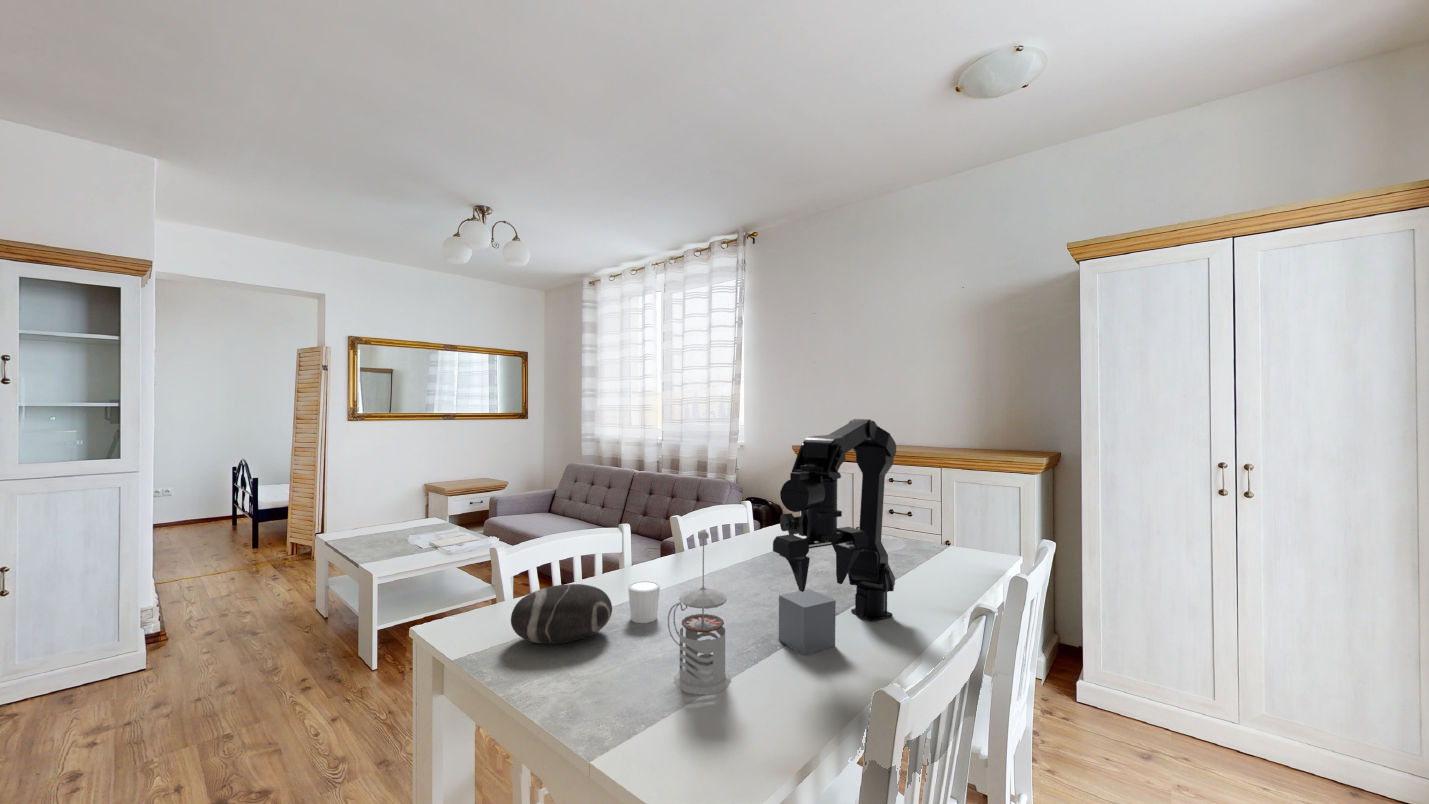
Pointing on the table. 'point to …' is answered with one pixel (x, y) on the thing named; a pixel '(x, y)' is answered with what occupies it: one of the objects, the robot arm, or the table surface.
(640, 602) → the white tapered cup
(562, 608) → the decorative stone
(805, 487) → the robot arm
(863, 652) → the table surface
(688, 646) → the french press
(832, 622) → the grey matte cube
